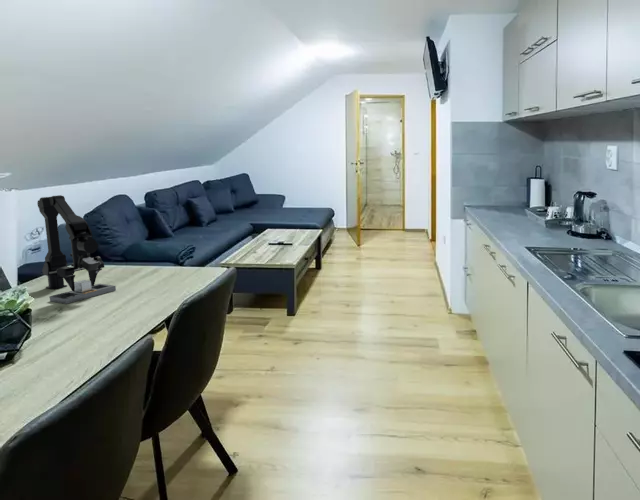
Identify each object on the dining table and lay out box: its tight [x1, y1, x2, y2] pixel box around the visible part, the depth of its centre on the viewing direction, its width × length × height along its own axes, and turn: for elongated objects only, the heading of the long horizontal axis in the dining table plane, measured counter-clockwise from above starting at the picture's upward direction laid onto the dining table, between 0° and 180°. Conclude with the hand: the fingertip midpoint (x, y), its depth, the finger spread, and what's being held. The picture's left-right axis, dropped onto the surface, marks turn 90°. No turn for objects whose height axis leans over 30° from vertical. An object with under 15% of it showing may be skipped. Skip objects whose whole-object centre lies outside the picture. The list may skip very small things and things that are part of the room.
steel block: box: [74, 279, 92, 293], centre depth 240 cm, size 4×4×6 cm
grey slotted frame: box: [49, 283, 117, 305], centre depth 241 cm, size 10×24×2 cm, turn 149°
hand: (83, 288), depth 240 cm, fingers open, 9 cm apart
